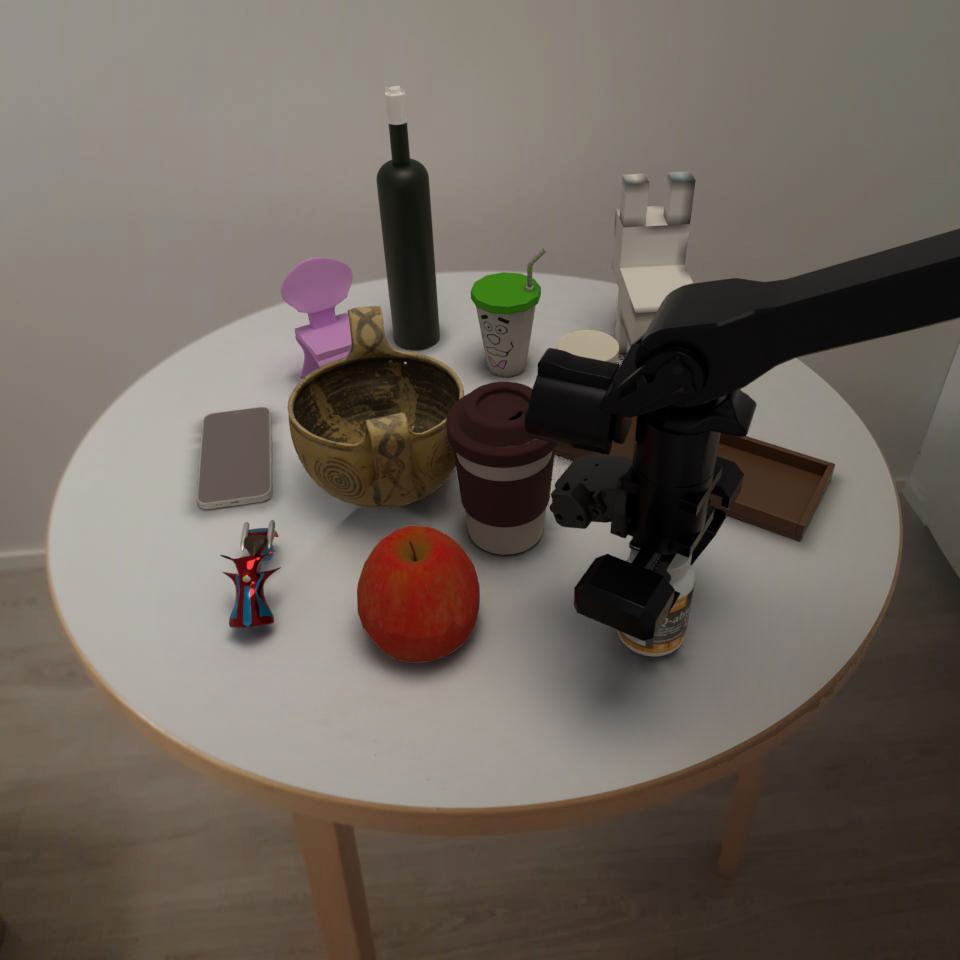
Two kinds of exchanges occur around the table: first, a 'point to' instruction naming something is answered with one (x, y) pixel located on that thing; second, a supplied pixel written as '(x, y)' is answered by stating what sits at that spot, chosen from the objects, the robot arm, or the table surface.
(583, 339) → the amber bottle far
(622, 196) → the toy llama
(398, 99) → the wine bottle
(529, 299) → the cup
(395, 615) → the apple
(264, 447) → the smartphone
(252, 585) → the hoverbike
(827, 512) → the table surface
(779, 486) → the tray
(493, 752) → the table surface
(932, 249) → the robot arm
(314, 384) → the ceramic bowl
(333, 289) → the toy chair
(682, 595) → the pill bottle
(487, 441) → the coffee cup
